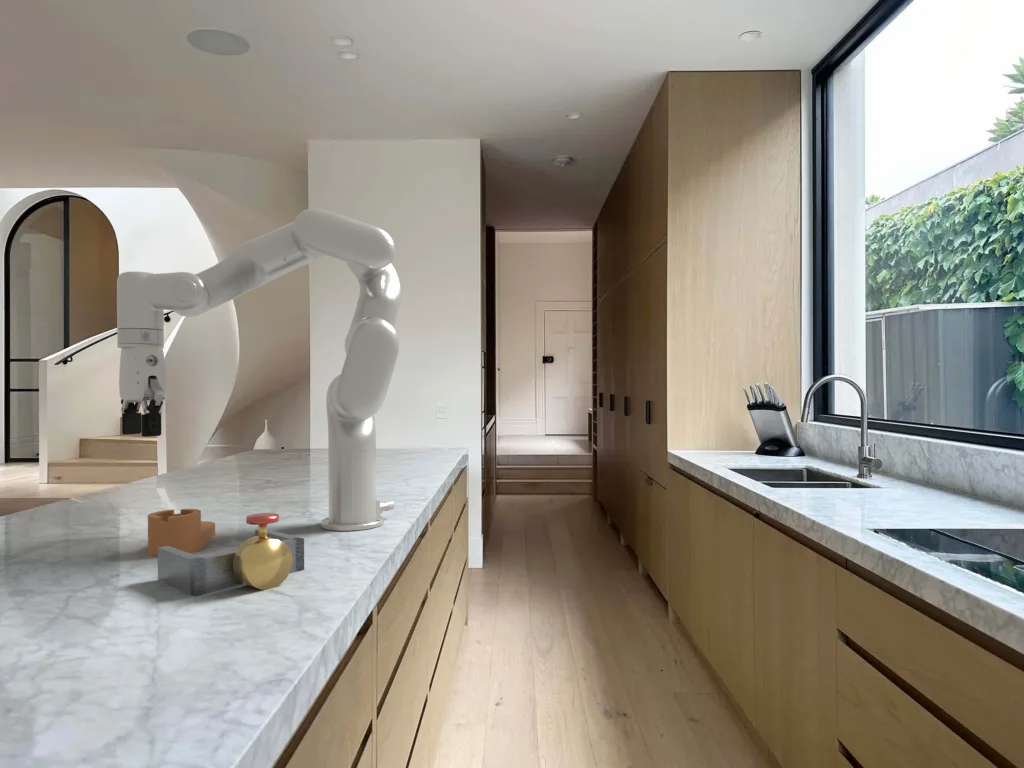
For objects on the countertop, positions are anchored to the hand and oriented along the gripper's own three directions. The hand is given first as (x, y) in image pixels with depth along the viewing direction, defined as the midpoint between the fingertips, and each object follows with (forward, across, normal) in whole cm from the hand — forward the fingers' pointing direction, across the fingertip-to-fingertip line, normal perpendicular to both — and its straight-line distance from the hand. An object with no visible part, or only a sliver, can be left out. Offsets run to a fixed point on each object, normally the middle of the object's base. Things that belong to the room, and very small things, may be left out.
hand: (141, 434), depth 124 cm
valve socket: (+20, -33, 0) cm, 39 cm away
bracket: (+20, -7, -4) cm, 22 cm away
